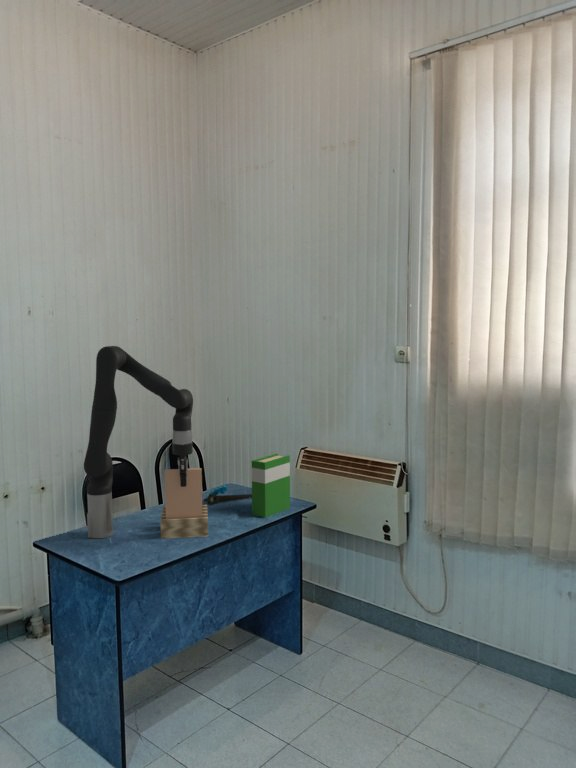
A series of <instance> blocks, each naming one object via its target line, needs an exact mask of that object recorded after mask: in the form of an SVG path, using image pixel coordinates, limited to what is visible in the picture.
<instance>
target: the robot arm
mask: <svg viewBox="0 0 576 768" xmlns="http://www.w3.org/2000/svg"><path fill="white" fill-rule="evenodd" d="M95 359H96V360H95V384H94V392H93V399H92V405H91V414H90V425H89V437H88V444H87V448H86V452H85V457H84V462H83V471H84V472H85V474H86V475H87V476H88V477H89V479H88V480H89V481H88V483H87V487H86V495H87V496H86V498H87V514H86V520H87V521H86V522H87V523H86V524H87V538H90V539H104V538H109V537H111V536H113V534H114V522H113V519H114V517H113V496H112V495H113V493H112V491H113V490H112V486H113V483H114V480H113V479H114V477H113V476H114V475H113V474H114V470H113V467H114V465H113V459H112V457H111V455H110V453H108V444H109V440H110V437H111V435H112V432H113V430H114V426H115V423H116V418H117V410H118V400H117V395H116V389H115V379H116V373H117V370H118V371H120V372H123V373H125V374H127V375H129V377H132V378H133V379H134V380H136V382H138V384H140V385H141V386H142V387H144V389H146V390H148V391H150V392H151V393H152V394H154V395H156V396H158V397H159V398H161V400H163V401H164V402H165V403H166V404H168V405H169V406H170V407H172V408H173V409H175V414H174V415H173V417H172V437H171V438H172V454H173V455H175V456H178V457H177V465H178V469H179V472H180V482H181V487H186V476H187V474H186V471H187V470H188V469H189V467H188V466H189V457H187V456H189V455H191V454H193V450H194V449H193V447H194V446H193V432H192V414H193V408H194V407H193V406H194V398H193V394H192V392H191V391H190V390H189V389H186V388H180V389H178V388H176V387H175V386H173V385H172V382H171V381H170V380H168V379H167V378H165V377H163V376H162V375H160V374H158V373H156V372H155V371H153V370H151V369H149V368H148V367H146V366H144V365H143V364H142V363H140V362H139V361H138V360H137V359H135V358H134V357H132V356H131V355H130V354H129V353H128V352H127V351H125V350H124V349H123V348H121V347H120V346H118V345H117V346H116V345H109V346H107V345H106V346H103V347H101V348H100V349H99V350H98V352H97V354H96V358H95ZM181 473H182V474H181Z"/></svg>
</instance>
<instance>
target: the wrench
mask: <svg viewBox="0 0 576 768" xmlns="http://www.w3.org/2000/svg"><path fill="white" fill-rule="evenodd" d="M212 497H214V499H213V502H212V501H211V498H212ZM249 497H252V493H251V494H246V493H245V494H228V495H227V494H226V495H224V494H222V495H221V496H217V495H213V494H211V493H209V496H208V497H206V498H204V499H202V502H206V503H208V505H209V504H210V505H209V506H214V505H216V504H217V503H221V502H222V503H223V502H229V501H230V500H231V501H238V500H237V499H239V500H244V499H243V498H247V499H250V498H249ZM213 504H214V505H213Z"/></svg>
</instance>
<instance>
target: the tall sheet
mask: <svg viewBox="0 0 576 768" xmlns="http://www.w3.org/2000/svg"><path fill="white" fill-rule="evenodd" d="M202 470H203V469H202V468H201V467H199V468H198V467H197V468H196V467H195V468H193V467H192V468H188V470H187V471H186V474H187V476H186V487H181V482H180V472H179V468H171V469H164V494H165V497H164V498H165V499H164V500H165V507H166V519H183V518H203V514H202V505H203V474H202V473H203V472H202ZM181 474H182V473H181Z"/></svg>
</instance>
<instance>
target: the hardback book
mask: <svg viewBox="0 0 576 768" xmlns="http://www.w3.org/2000/svg"><path fill="white" fill-rule="evenodd" d="M290 457H291V455H284V456H282V455H279V453H274V454H271V455H267V456H264V457H260V458H256V459H253V460H251V494H252V498H251V515H252V514H253V515H252V516H255V515H257V516H256V517H259V516H261V517H260V518H263V517H265V518H264V519H267V518H270V517H272V516H274V515H276V513H277V514H279V513H281V512H280V511H282V512H284V511H287V510H289V509H290V508H291V492H290V491H291V464H290V463H291V462H290V461H291V460H290V459H291V458H290ZM288 508H289V509H288ZM283 510H284V511H283ZM278 512H279V513H278ZM273 514H274V515H273ZM271 515H272V516H271ZM266 517H267V518H266Z"/></svg>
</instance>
